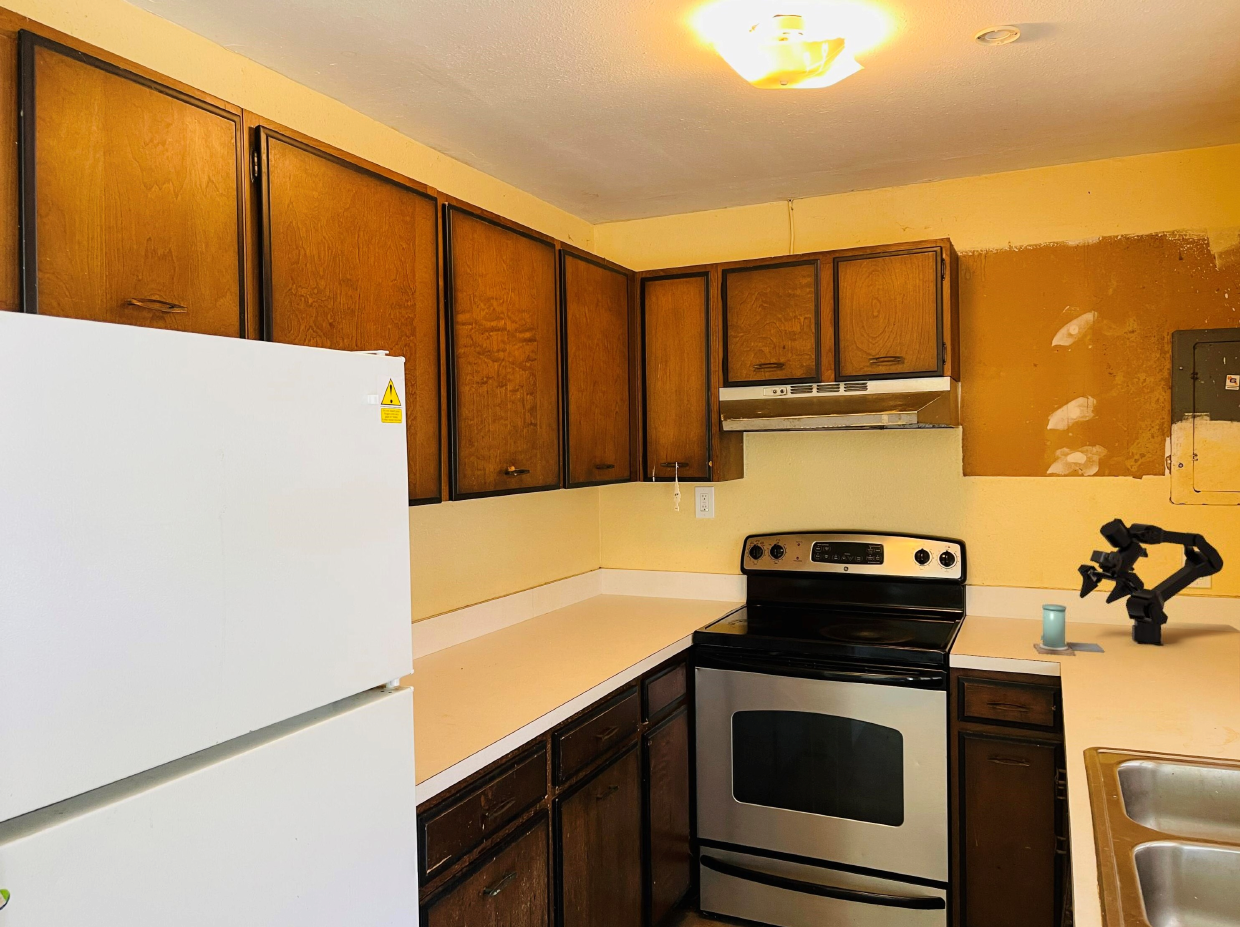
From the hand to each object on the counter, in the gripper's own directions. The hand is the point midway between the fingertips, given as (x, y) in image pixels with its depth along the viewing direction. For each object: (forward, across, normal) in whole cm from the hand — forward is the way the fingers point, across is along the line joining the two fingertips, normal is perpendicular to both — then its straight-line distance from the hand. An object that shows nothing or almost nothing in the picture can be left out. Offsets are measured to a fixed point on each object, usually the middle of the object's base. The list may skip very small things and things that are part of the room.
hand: (1093, 600), depth 253 cm
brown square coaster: (+20, 0, -1) cm, 20 cm away
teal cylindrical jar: (+18, 0, -2) cm, 19 cm away
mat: (+12, 0, +7) cm, 14 cm away
